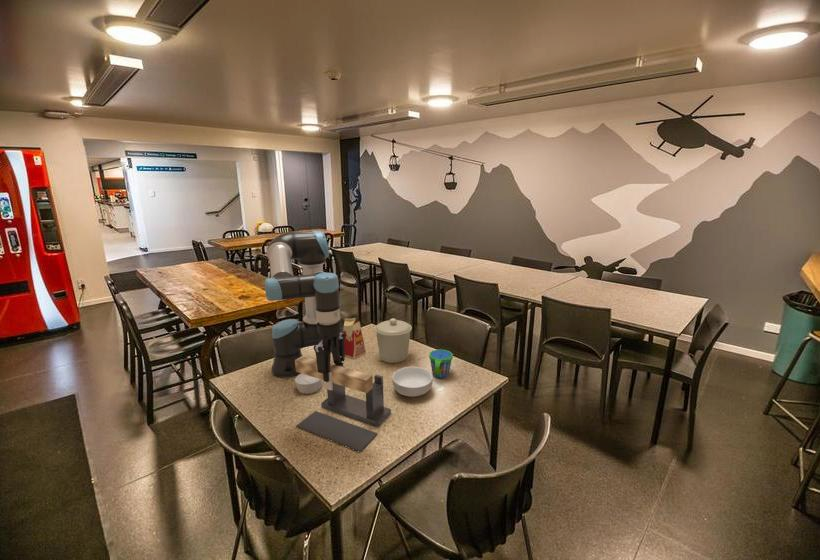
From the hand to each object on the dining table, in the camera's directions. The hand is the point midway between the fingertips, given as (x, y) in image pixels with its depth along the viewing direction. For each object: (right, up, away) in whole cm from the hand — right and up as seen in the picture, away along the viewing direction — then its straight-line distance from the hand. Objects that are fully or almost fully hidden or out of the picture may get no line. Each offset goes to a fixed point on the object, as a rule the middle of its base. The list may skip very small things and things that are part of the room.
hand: (333, 385), depth 125 cm
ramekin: (-17, -10, +32) cm, 37 cm away
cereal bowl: (+27, -11, +29) cm, 41 cm away
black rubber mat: (0, -17, +5) cm, 18 cm away
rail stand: (+5, -14, +16) cm, 22 cm away
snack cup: (+40, -7, +42) cm, 59 cm away
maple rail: (0, +2, -1) cm, 2 cm away
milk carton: (-3, -2, +63) cm, 63 cm away
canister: (+18, -3, +58) cm, 61 cm away
